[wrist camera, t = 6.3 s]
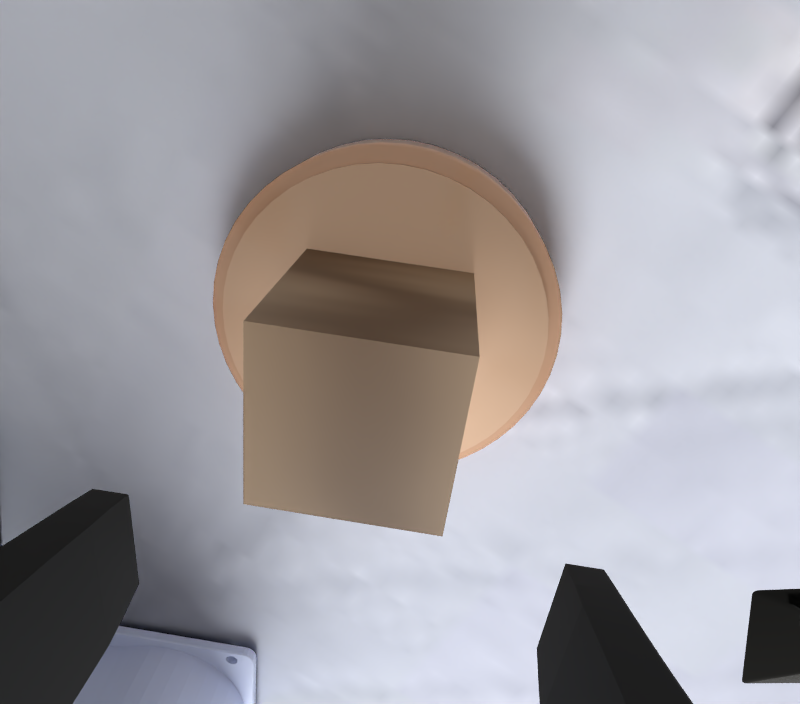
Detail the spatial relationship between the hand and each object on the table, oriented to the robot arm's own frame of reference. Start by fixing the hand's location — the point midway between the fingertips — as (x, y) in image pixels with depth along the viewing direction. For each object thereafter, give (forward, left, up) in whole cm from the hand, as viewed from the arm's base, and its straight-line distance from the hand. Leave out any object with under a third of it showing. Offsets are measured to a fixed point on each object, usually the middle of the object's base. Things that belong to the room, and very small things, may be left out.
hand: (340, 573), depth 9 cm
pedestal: (0, +1, -10) cm, 10 cm away
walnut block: (0, +1, -8) cm, 8 cm away
